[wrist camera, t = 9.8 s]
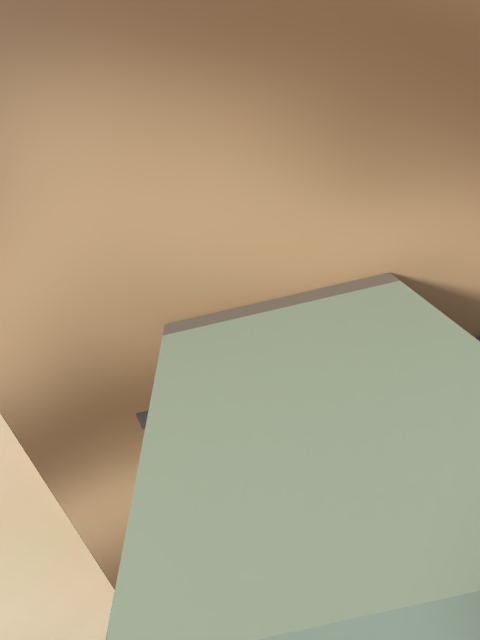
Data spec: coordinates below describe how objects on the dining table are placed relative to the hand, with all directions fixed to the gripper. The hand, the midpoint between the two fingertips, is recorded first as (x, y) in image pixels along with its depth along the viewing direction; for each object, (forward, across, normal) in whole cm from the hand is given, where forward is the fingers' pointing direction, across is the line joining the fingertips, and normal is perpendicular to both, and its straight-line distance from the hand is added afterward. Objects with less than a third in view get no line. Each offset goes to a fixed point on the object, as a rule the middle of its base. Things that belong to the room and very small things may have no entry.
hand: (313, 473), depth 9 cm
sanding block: (+1, 0, 0) cm, 1 cm away
